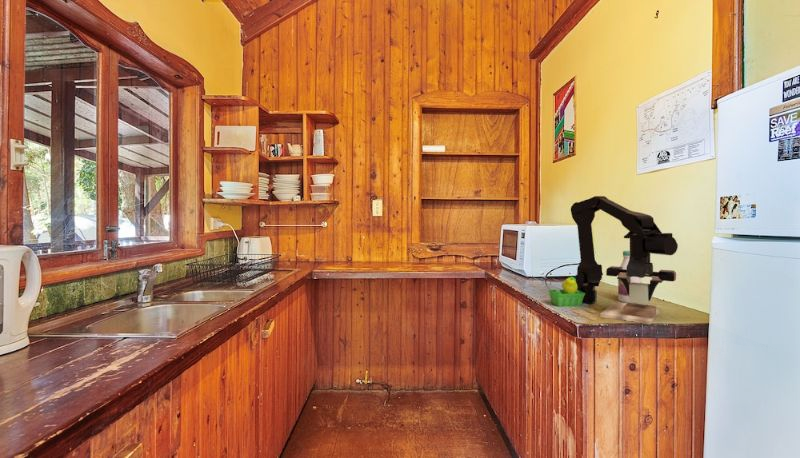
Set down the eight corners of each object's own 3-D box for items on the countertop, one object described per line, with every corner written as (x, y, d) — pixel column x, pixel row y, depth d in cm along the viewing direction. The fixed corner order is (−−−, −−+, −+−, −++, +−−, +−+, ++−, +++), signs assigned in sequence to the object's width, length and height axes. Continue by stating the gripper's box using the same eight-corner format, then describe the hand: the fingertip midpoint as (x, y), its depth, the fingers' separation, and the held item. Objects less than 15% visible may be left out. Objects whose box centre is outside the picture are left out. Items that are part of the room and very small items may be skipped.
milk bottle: (639, 300, 141) (639, 250, 141) (643, 304, 134) (643, 252, 134) (616, 298, 144) (616, 250, 144) (619, 302, 137) (619, 251, 137)
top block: (629, 302, 118) (629, 284, 117) (632, 299, 121) (632, 282, 121) (647, 304, 114) (647, 286, 114) (650, 301, 118) (650, 283, 118)
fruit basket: (575, 301, 140) (575, 273, 140) (588, 307, 132) (588, 277, 131) (547, 302, 140) (547, 274, 139) (558, 308, 131) (558, 278, 131)
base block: (623, 314, 118) (623, 306, 118) (628, 309, 123) (628, 302, 123) (652, 318, 112) (652, 310, 112) (656, 313, 118) (656, 306, 118)
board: (599, 316, 119) (599, 313, 119) (615, 304, 135) (615, 301, 135) (650, 324, 109) (650, 321, 109) (660, 310, 125) (660, 307, 125)
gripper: (601, 252, 118) (601, 299, 118) (672, 256, 105) (671, 308, 105) (610, 250, 126) (610, 293, 126) (676, 253, 113) (676, 301, 114)
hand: (639, 299), depth 118 cm, fingers closed on top block, 5 cm apart
